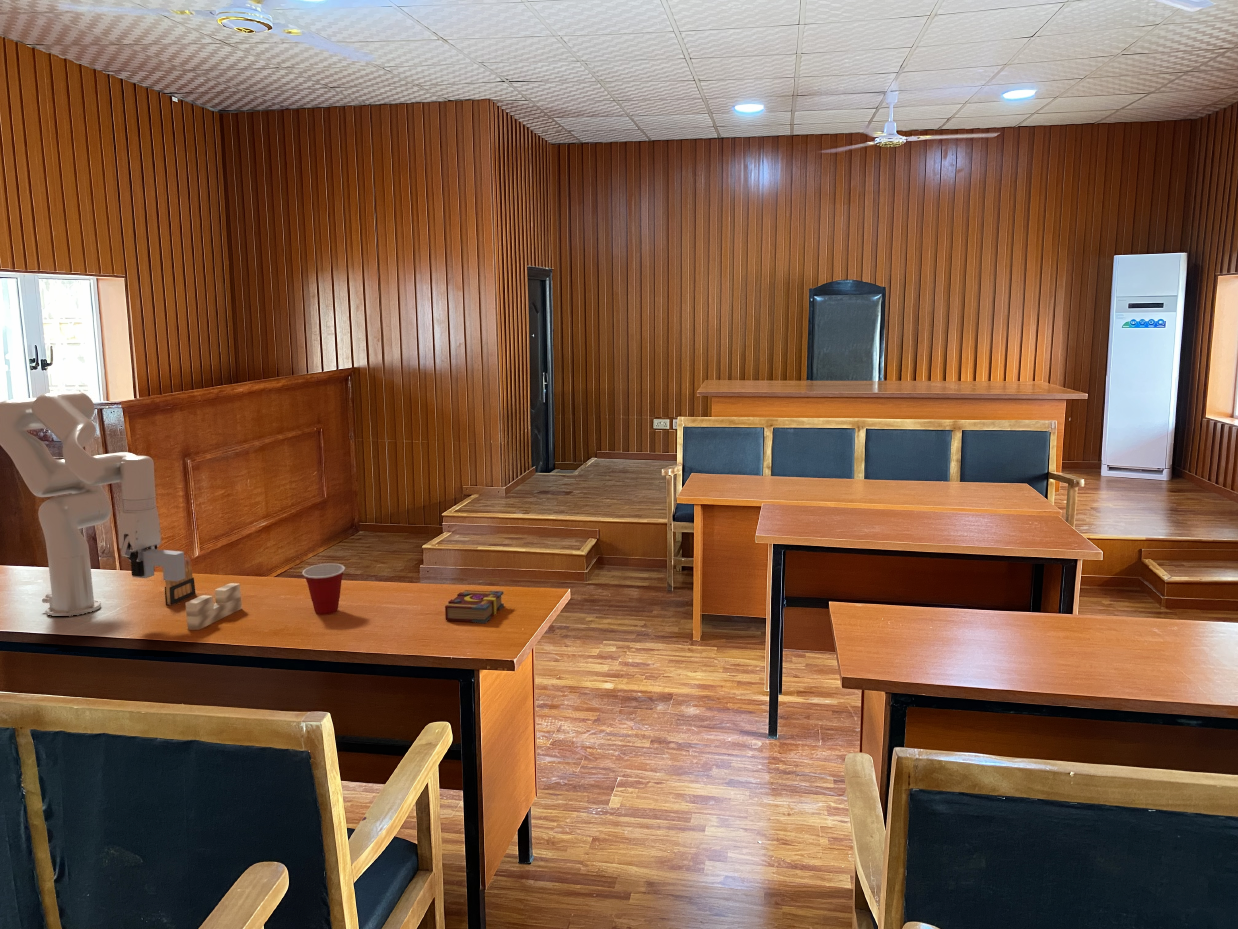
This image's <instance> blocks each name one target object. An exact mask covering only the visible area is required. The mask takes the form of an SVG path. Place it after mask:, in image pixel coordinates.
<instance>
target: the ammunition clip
mask: <svg viewBox="0 0 1238 929" xmlns="http://www.w3.org/2000/svg"><path fill="white" fill-rule="evenodd" d="M184 563H185V578H184V579H182V580H180V581H168V580H164V581H165V586H164V598H165V600H164V601H165V606H173V605H175V604H178V603H180V602H182V601H184V600H186V599H188V598H191V597H193V596H195V595H196V585H195V577H193V569H192V563H191V558H190V556H189V554H186V557H185V556H184Z"/></svg>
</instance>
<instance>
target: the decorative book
mask: <svg viewBox="0 0 1238 929" xmlns="http://www.w3.org/2000/svg"><path fill="white" fill-rule="evenodd" d="M503 595H504V591H503V590H489V591H488V590H487V591H486V590H471V589H470V590H467V589H466V590H463V591H462V592H461V591H460V592H459V593H457V595H456V597H455V598H454V599H449V601H448V603H447V604H446V605H445V606H444V611H445V612H444V613H445V614H444V615H445V621H446V620H448V621H452V622H466V623H467V622H469V623H472V622H475V624H487V623H488V622H489V621H490V620H491V618H492V617H493V616H494V615H495V614H496V613H497V612H498V611H500V610H501V609H502V608H503V607H504V606H505V605H504V604H505V603H502V596H503ZM496 615H497V614H496ZM496 615H495V616H496ZM488 620H489V621H488ZM448 621H447V622H448ZM487 621H488V622H487ZM476 622H477V623H476Z"/></svg>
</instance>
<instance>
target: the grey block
mask: <svg viewBox="0 0 1238 929" xmlns="http://www.w3.org/2000/svg"><path fill="white" fill-rule="evenodd" d="M134 553H135V554H136V552H134ZM184 557H185V551H178V550H167V549H158V548H157V549H148V548H147V549H146V548H144V549H142V556H141V561H143V565H144V576H142V577H140V576H132V575H131V576H132V578H139V579H148V578H151V577H154V576H155V571H154V570H155V567H161V568H162V577H163V578H162V580H163V581H165V580H168V581H180V580H182V579H184V578H185V563H184Z"/></svg>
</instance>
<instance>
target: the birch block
mask: <svg viewBox="0 0 1238 929" xmlns="http://www.w3.org/2000/svg"><path fill="white" fill-rule="evenodd" d="M214 598H215V603H214ZM239 610H243V609H242V595H241V584H240V583H236V582H235V583H233V582H231V583H227V584H225V585H223V586H220V587H218V588H216V589H214V596H213V595H205V594H204V595H203V594H202V595H200V596H198V597H196V598H194V599H191V600H189V601H187V602H186V601H185V613H186V626H187V630H189V631H199V630H202V629H203V628H205V627H207V626H209V625H212V624H214V623H215V622H217V621H220V620H222V619H224V618H225V617H228V616H230V615H232V614H234V613H236V612H238V611H239Z"/></svg>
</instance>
